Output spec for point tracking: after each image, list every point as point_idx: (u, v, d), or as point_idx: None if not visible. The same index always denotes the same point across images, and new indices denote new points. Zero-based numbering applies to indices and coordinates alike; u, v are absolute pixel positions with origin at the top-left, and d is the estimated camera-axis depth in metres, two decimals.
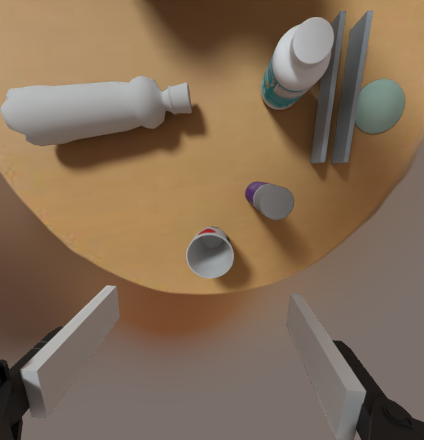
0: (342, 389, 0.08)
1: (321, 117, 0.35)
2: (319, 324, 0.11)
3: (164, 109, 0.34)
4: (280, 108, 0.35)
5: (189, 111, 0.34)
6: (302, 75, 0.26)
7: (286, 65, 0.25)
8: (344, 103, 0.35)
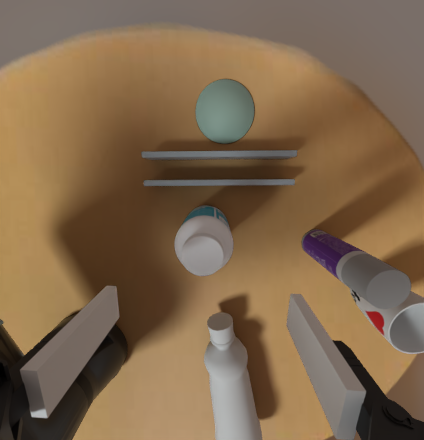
0: (342, 389, 0.08)
1: None
2: (319, 324, 0.11)
3: (231, 343, 0.34)
4: None
5: (232, 322, 0.34)
6: (225, 249, 0.23)
7: None
8: (223, 158, 0.30)
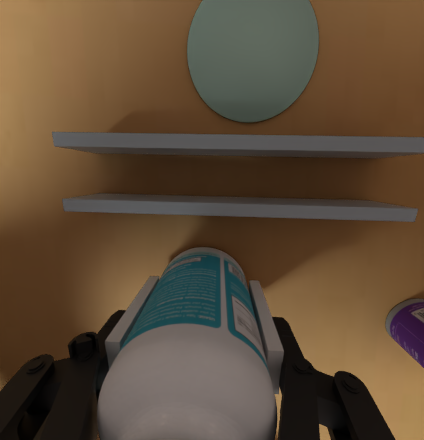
0: (266, 350, 0.10)
1: None
2: (265, 303, 0.13)
3: None
4: None
5: None
6: None
7: None
8: (245, 153, 0.14)
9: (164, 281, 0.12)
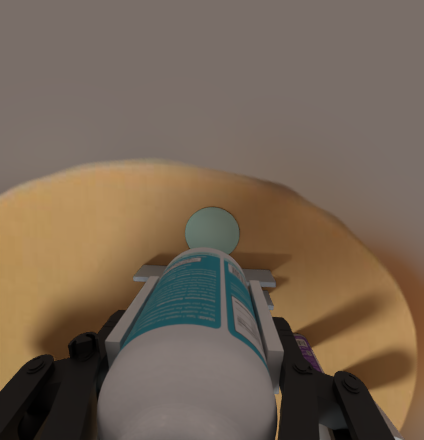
0: (266, 350, 0.10)
1: None
2: (265, 303, 0.13)
3: None
4: None
5: None
6: None
7: None
8: None
9: (164, 281, 0.12)
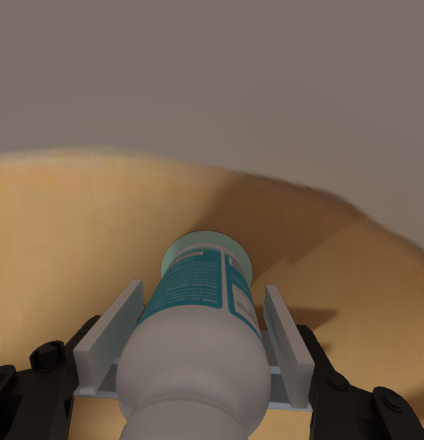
0: (295, 363, 0.09)
1: None
2: (286, 310, 0.12)
3: None
4: None
5: None
6: (251, 416, 0.08)
7: None
8: None
9: (170, 272, 0.14)
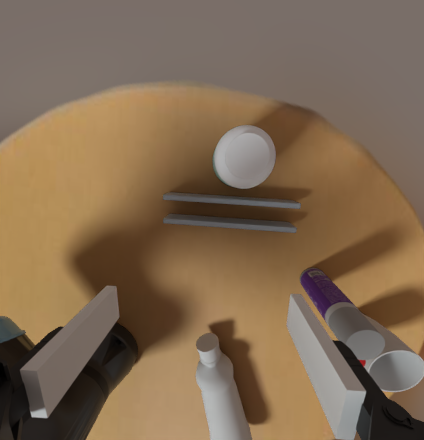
0: (342, 389, 0.08)
1: None
2: (319, 324, 0.11)
3: (218, 361, 0.39)
4: None
5: (218, 343, 0.38)
6: None
7: (256, 178, 0.23)
8: None
9: None
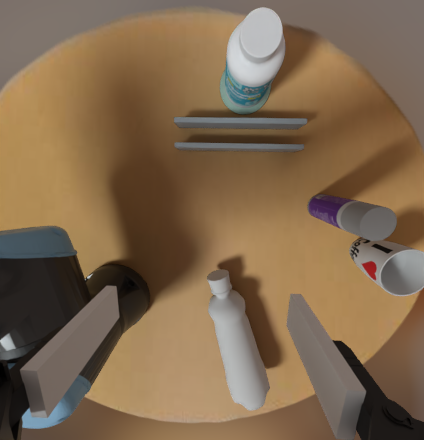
0: (342, 389, 0.08)
1: (255, 149, 0.35)
2: (319, 324, 0.11)
3: (230, 294, 0.40)
4: None
5: (228, 274, 0.39)
6: (279, 46, 0.24)
7: (268, 67, 0.24)
8: (243, 126, 0.35)
9: None
